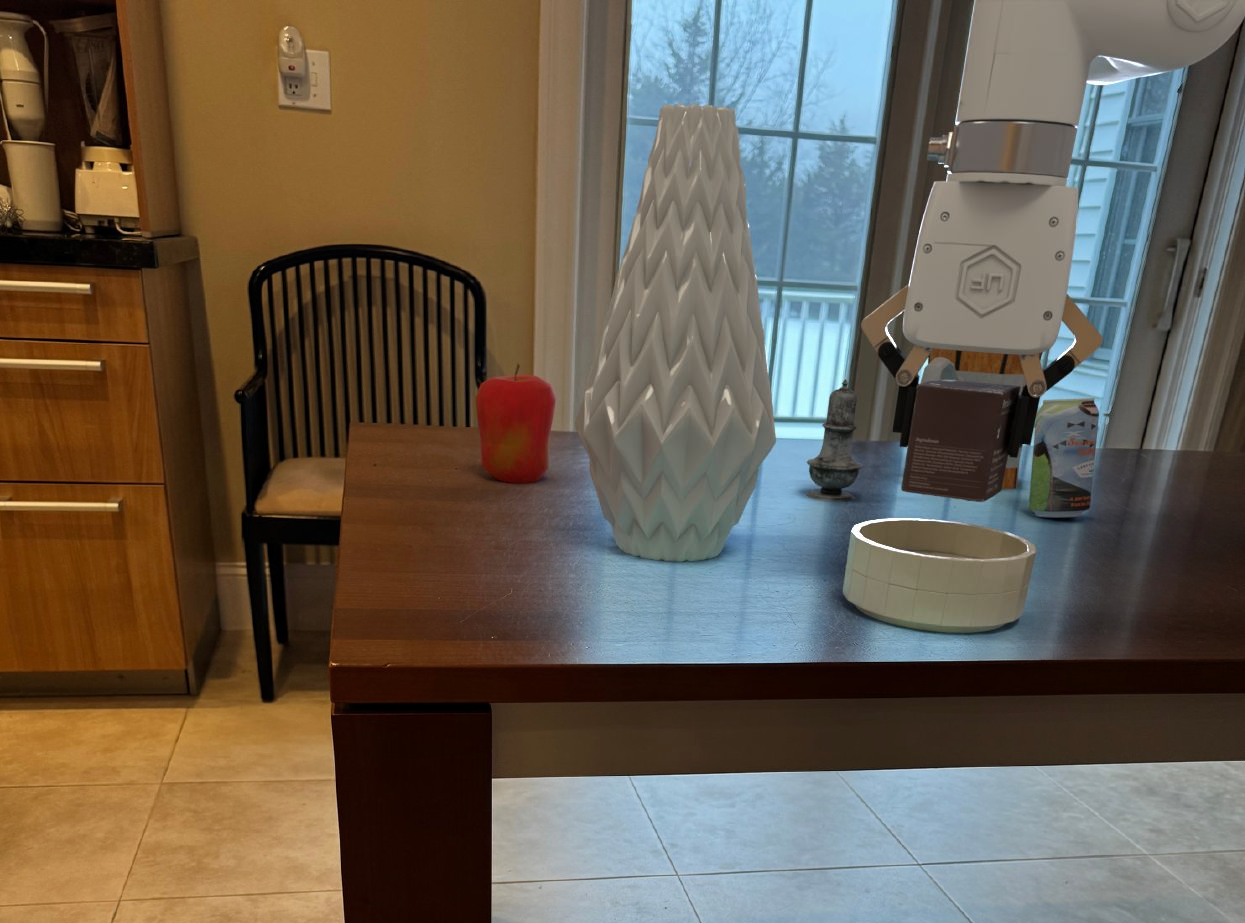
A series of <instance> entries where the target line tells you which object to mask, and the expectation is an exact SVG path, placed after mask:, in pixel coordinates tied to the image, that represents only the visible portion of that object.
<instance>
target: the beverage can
mask: <svg viewBox="0 0 1245 923" xmlns="http://www.w3.org/2000/svg"><path fill="white" fill-rule="evenodd" d="M1099 419H1100V410H1099V408H1098V406H1097V404H1096V403H1095V397H1083V398H1082V397H1081V398H1080V397H1079V398H1058V399H1057V398H1056V399H1054V398H1053V399H1042V404H1041V406H1040V407H1039V408H1038V409H1037V414H1036V419H1035V424H1034V435H1033V436H1034V437H1033V446H1032V447H1033V448H1032V457H1031V458H1032V461H1031V473H1030V482H1029V484H1030V485H1029V497H1028V510H1029V511H1032V512H1034V515H1035V517H1040V518H1075V517H1081V516H1082V515H1083V513H1084V512H1086V511H1088V510H1090V508H1091V500H1092V493H1093V492H1092V491H1093V481H1094V472H1095V471H1094V470H1095V461H1096V460H1095V459H1096V449H1097V439H1098V429H1099Z"/></svg>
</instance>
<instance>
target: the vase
mask: <svg viewBox="0 0 1245 923" xmlns="http://www.w3.org/2000/svg"><path fill="white" fill-rule="evenodd" d="M739 135H740V134H739V128H738V126H737V123H736V110H735V108H732V107H731V108H730V107H729V108H728V107H727V106H718V107H716V106H714V105H713V104H707V105H703V106H702V105H699V104H696V103H691V104H689V105H685V104H682V103H676V104H674V105H672V104H664V105H661V106H660V109H659V114H658V121H657V126H656V133H655V135H654V136H655V137H654V141H653V144H652V147H651V150H650V153H649V156H648V160H647V166H646V169H645V171H644V175H643V178H642V179H643V180H642V185H641V190H640V196H639V200H638V204H637V207H636V212H635V216H634V217H633V220H632V224H631V229H630V233H629V236H628V239H627V242H626V246H625V249H624V252H623V254H622V257H621V262H620V266H619V268H618V271H617V274H616V278H615V283H614V287H613V291H612V295H611V299H610V303H609V307H608V310H607V311H606V312H607V313H606V316H605V319H604V324H603V327H602V336H601V338H600V340H599V341H600V342H599V344H598V347H597V350H596V353H595V356H594V359H593V362H592V365H591V367H590V371H589V373H588V376H587V379H586V382H585V383H586V384H585V387H584V394H583V396H582V399H581V402H580V405H579V408H578V412H577V415H576V418H575V425H574V426H575V431H576V432H577V435H578V437H579V439H580V442H581V443H582V445H583V447H584V450H585V452H586V454H587V456H588V460H589V475H590V478H591V481H592V483H593V486H594V489H595V493H596V495H597V496H596V497H597V499H598V502H599V506H600V508H601V512H602V516H603V519H604V520H605V521H607V522H608V523H609V524H610V527H611V532H612V535H613V538H614V540H615V544H616V546H617V547H618V548H619V549H620V551H622V552H624V553H625V554H627V555H631V556H633V557H640V558H641V559H646V560H647V559H648V560H653V561H664V562H678V563H682V562H697V561H705V560H711V559H713V558H716V557H718V556H719V555H720V554H721V553H722V551H723V549H724V547H725V545H726V542H727V539H728V538H729V536H730V533H731V530H732V529H733V527H734V526H736V525H737V524H739V522H740V521H741V518H742V515H743V514H744V511H745V510H746V506H747V504H748V502H749V500H750V499H751V496H752V494H753V492H754V491H755V489H756V486H757V482H758V476H759V469H760V468H761V466H762V464H763V462H765V460H766V458H767V457H768V456H769V454H770V453H771V452H772V450H773V448H774V447H775V446H776V443H777V436H776V435H777V434H776V427H775V426H776V425H775V416H774V406H773V393H772V388H771V382H770V376H769V367H768V360H767V359H768V358H767V348H766V343H765V340H766V339H765V338H766V337H765V327H764V324H763V320H762V313H761V306H760V305H761V304H760V296H759V286H758V279H757V274H756V266H755V262H754V254H753V247H752V239H751V233H750V224H749V221H748V212H747V187H746V186H747V185H746V177H745V174H744V171H743V168H742V160H741V159H742V158H741V148H740V147H741V146H740V139H739V137H740V136H739Z"/></svg>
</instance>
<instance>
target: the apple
mask: <svg viewBox="0 0 1245 923" xmlns="http://www.w3.org/2000/svg"><path fill="white" fill-rule="evenodd" d="M516 364H517V365H516V368H515V372H514V375H503V376H502V375H501V376H492V377H490V378H488V379H487V380H485V381H482V382H481V383H480V384H479V388H478V390H477V392H476V395H475V398H474V400H475V408H476V409H475V410H476V419H477V425H478V431H479V436H480V452H481V453H480V454H481V466H482V467H483V468H484V469H485V470H486V471H487V472H488V473H489V475H491V477H493V478H494V479H495V480H497V481H500V482H503V483H511V484H529V483H535V482H538V481H539V480H540V479H541V478H542V476H543V475H544V474H546V472H547V471H548V469H549V464H550V462H549V458H550V457H549V455H550V437H551V433H552V427H553V421H554V414H555V408H556V400H557V397H556V394H555V391H554V390H553V386H552V384H551V383H549V382H548V381H546V380H544V379H543V378H542V377H539V376H538V375H534V374H533V375H532V374H519V375H518V373H519V370H520V367H521V366H520V364H519V363H516Z"/></svg>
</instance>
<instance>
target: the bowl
mask: <svg viewBox="0 0 1245 923" xmlns="http://www.w3.org/2000/svg"><path fill="white" fill-rule="evenodd" d="M1036 549H1037V548H1036V545H1035V544H1033V543H1032V542H1030V541H1029V540H1028V539H1026V538H1024V537H1022V536H1019V535H1017V534H1013V533H1011V532H1008V531H1004V530H999V529H997V528H992V527H988V526H984V525H977V524H971V523H965V522H959V521H951V520H950V521H949V520H941V519H933V518H931V519H929V518H906V517H905V518H881V519H875V520H873V519H872V520H868V521H863V522H861V523H860V522H859V523H858V524H855V525H853V527H852V529H851V531H850V536H849V543H848V549H847V557H846V564H845V571H844V578H843V585H842V595H843V596H844V598H845V600H846V601H848V602H849V603H852V604H853V605H854V606H855V608H856V609H857V610H858V611H860V612H861V613H863V614H865V615H867V616H868V617H870V618H873V619H875V620H879V621H882V622H884V623H888V624H891V625H894V626H895V625H896V626H900V627H905V628H909V629H913V630H915V629H916V630H921V631H929V632H938V633H959V634H960V633H962V634H963V633H965V634H966V633H981V632H988V631H992V630H993V631H994V630H997V629H999V628H1002V627H1003V626H1006V624H1008V623H1013V622H1015V621H1016V620H1019V619H1020V618H1021V617H1022V616H1023V614H1024V610H1025V606H1026V600H1027V596H1028V592H1029V587H1030V583H1031V577H1032V573H1033V569H1034V568H1033V567H1034V564H1035V558H1036V554H1037V550H1036Z"/></svg>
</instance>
